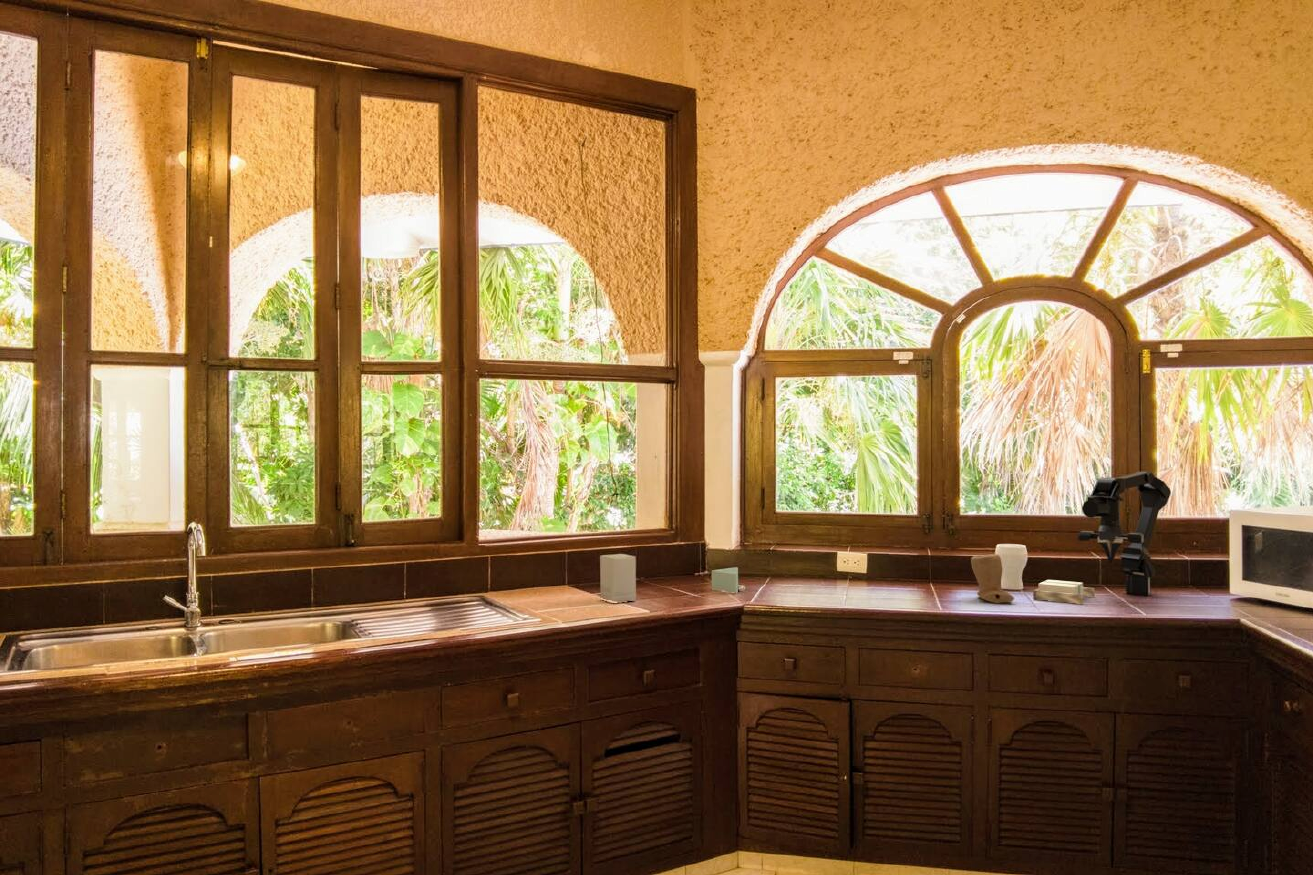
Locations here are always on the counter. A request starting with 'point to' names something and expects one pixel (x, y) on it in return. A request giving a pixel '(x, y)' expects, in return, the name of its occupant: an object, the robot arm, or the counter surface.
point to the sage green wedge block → (726, 580)
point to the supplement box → (618, 577)
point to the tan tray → (1063, 596)
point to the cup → (1012, 564)
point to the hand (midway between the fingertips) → (1111, 563)
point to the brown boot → (990, 578)
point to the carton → (1061, 586)
